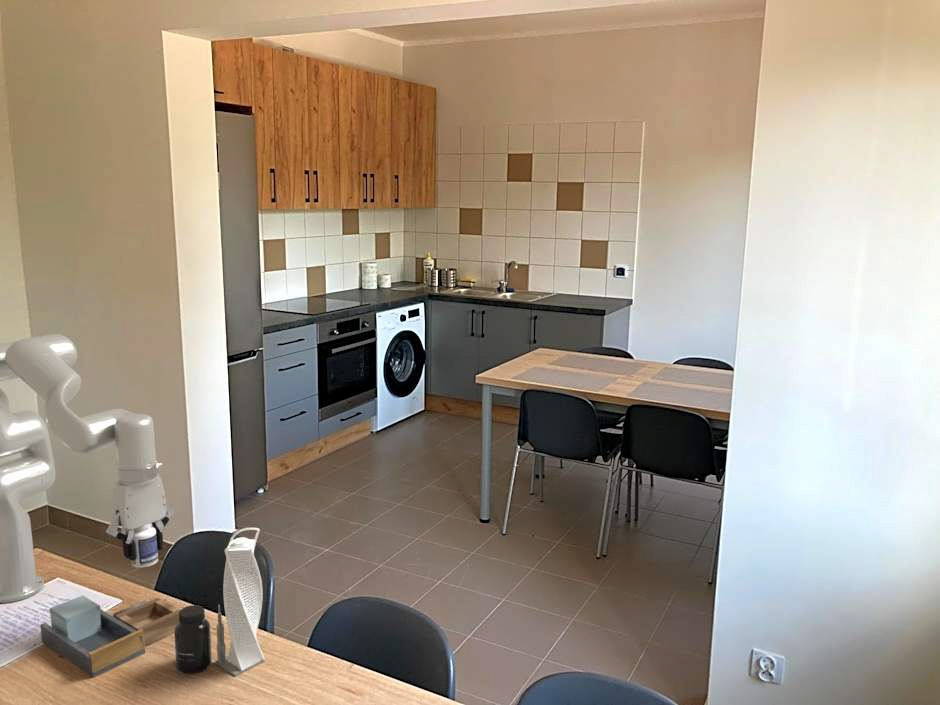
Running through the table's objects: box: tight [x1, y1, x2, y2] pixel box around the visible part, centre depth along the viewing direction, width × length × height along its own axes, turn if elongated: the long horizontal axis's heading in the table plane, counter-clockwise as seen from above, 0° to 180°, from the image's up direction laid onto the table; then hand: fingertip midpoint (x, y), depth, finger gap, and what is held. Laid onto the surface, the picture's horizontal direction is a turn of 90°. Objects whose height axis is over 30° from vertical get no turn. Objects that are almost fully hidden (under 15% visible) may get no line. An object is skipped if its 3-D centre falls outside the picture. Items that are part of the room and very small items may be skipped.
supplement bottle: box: [173, 604, 213, 675], centre depth 154 cm, size 7×7×12 cm
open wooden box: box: [112, 597, 181, 648], centre depth 169 cm, size 14×10×4 cm
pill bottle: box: [130, 523, 159, 569], centre depth 164 cm, size 5×5×10 cm
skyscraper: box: [215, 527, 266, 677], centre depth 154 cm, size 8×8×28 cm
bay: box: [39, 608, 146, 678], centre depth 161 cm, size 21×11×5 cm, turn 53°
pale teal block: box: [48, 595, 101, 642], centre depth 164 cm, size 7×7×6 cm
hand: (144, 552), depth 165 cm, fingers closed on pill bottle, 5 cm apart
